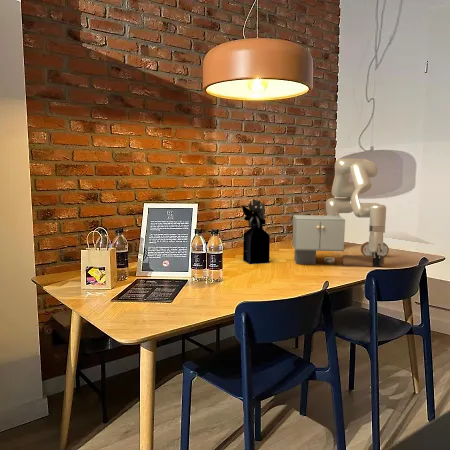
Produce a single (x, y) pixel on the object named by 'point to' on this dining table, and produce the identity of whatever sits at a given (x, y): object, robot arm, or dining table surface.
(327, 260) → the puck
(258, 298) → the dining table surface
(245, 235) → the vase
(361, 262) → the brown rectangular bar
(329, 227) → the cabinet
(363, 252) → the tin
